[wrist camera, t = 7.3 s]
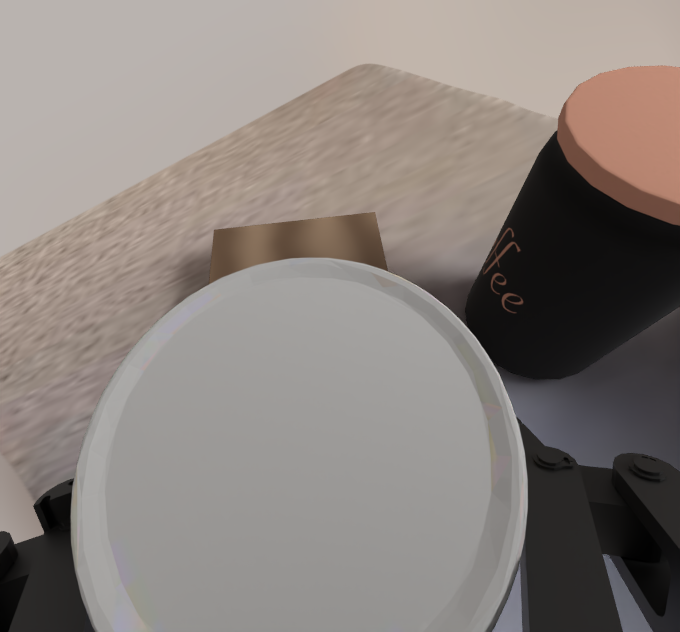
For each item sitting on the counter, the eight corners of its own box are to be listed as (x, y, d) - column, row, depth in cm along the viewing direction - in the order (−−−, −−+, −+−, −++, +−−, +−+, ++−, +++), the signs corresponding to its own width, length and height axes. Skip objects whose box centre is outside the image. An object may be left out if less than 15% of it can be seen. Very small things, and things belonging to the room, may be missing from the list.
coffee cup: (211, 563, 16) (-74, 652, 6) (278, 372, 20) (188, 223, 10) (417, 632, 14) (559, 939, 4) (441, 410, 19) (539, 278, 8)
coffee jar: (481, 261, 34) (585, 48, 19) (599, 302, 31) (839, 91, 16) (444, 351, 30) (539, 167, 14) (578, 408, 27) (882, 258, 11)
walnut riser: (373, 241, 36) (374, 212, 33) (401, 379, 29) (407, 360, 25) (228, 257, 36) (214, 229, 32) (218, 401, 28) (198, 385, 25)
